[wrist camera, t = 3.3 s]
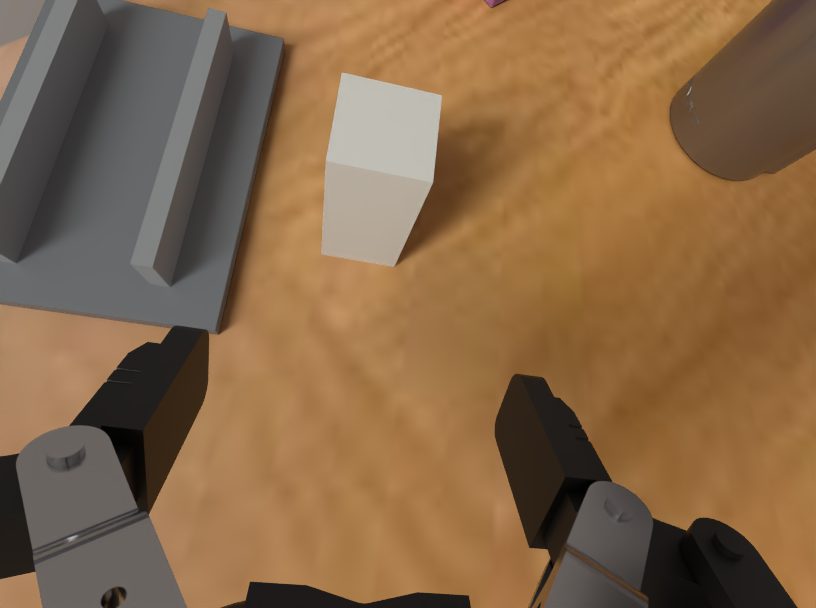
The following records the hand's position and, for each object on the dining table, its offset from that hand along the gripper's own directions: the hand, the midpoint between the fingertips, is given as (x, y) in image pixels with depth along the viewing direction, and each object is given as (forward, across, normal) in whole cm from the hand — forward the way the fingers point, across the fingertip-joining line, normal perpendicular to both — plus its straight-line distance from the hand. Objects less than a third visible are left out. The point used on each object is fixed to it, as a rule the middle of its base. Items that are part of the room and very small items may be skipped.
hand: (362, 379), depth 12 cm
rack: (+20, +14, +1) cm, 24 cm away
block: (+18, 0, +2) cm, 19 cm away
